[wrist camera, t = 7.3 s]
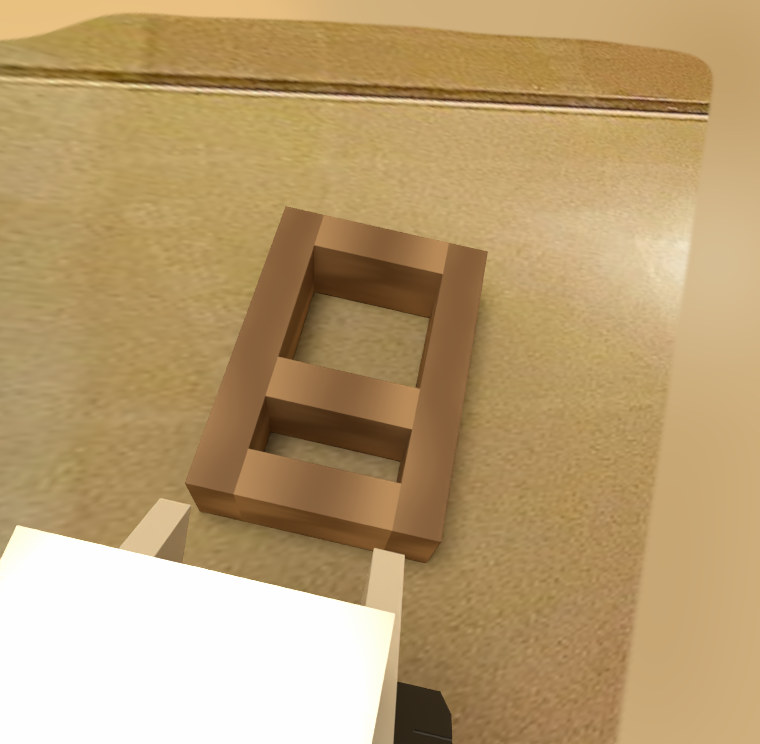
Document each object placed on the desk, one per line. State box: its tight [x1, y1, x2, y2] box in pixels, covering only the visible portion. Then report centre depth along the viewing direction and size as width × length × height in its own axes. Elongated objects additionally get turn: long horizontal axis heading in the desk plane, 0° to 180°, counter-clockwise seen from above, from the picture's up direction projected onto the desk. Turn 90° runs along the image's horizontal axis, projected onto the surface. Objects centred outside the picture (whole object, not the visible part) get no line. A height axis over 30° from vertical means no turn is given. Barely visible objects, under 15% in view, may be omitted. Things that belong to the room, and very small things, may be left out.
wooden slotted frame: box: [185, 207, 488, 563], centre depth 32 cm, size 10×15×4 cm
